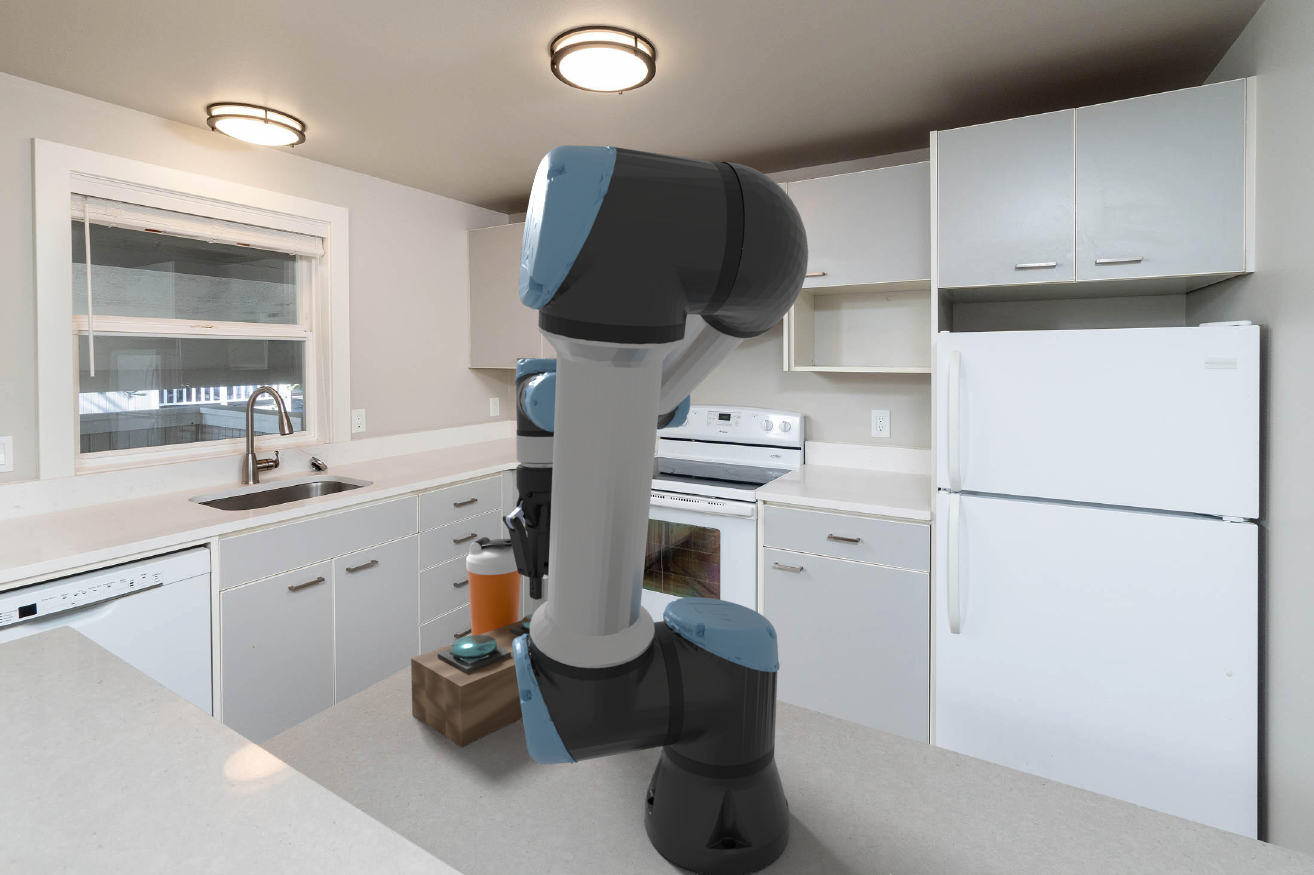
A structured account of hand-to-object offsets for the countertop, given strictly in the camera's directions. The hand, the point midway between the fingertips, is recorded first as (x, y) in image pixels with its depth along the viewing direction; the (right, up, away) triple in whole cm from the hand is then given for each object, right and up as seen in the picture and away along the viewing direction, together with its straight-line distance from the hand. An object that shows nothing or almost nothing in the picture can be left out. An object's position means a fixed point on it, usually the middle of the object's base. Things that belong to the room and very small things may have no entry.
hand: (542, 617), depth 98 cm
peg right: (0, -10, +1) cm, 10 cm away
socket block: (-4, -11, -4) cm, 12 cm away
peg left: (-8, -11, -8) cm, 16 cm away
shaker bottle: (-9, -10, +9) cm, 16 cm away
